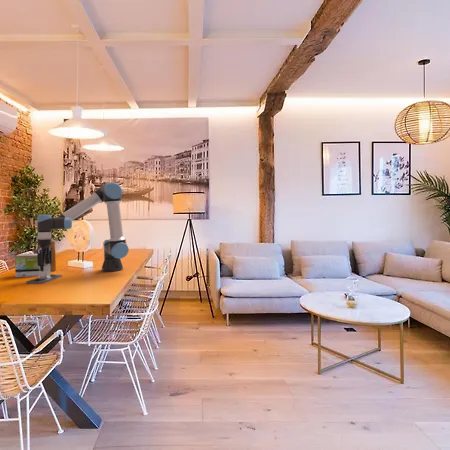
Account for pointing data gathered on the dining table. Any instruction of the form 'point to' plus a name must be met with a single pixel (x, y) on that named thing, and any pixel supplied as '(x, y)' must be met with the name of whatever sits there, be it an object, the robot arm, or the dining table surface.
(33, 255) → the tea box
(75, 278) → the dining table surface
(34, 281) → the grey flat frame
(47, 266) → the block with top tab
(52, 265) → the coffee package
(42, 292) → the dining table surface
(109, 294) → the dining table surface
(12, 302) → the dining table surface
